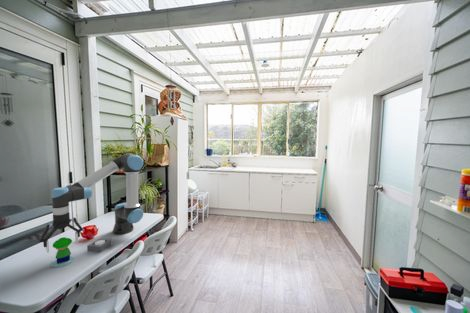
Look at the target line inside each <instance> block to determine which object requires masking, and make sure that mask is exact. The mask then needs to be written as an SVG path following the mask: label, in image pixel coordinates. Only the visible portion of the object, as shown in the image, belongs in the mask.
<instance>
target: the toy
mask: <svg viewBox="0 0 470 313" xmlns="http://www.w3.org/2000/svg"><path fill="white" fill-rule="evenodd" d="M72 243H73V240H72V238H69V237H60V238H58V239H57V240H55V241H54V242H53V243H52V247H53V248H55V249H56V250H57V251H56V253H55V259H56V260H57V264H59V263H62V262H67V261H69V260H70V256H71V254H72V252H71V250H70V247H69V246H70V245H71V244H72Z"/></svg>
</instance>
